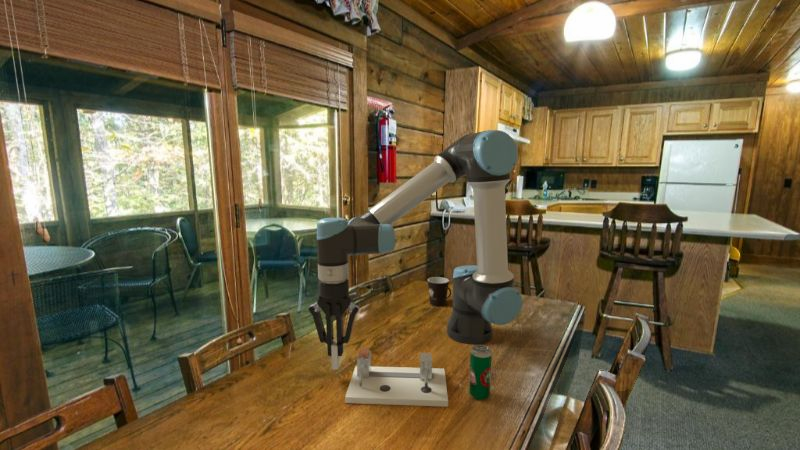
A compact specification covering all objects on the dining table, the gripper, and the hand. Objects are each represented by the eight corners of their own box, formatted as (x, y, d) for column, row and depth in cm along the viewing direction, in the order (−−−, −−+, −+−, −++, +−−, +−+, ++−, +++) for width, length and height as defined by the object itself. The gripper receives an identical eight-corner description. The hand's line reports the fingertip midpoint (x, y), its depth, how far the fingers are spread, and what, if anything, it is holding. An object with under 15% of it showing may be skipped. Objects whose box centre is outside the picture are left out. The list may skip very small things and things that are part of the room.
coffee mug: (425, 300, 155) (425, 277, 154) (445, 299, 156) (446, 276, 155) (430, 310, 144) (431, 286, 142) (452, 310, 145) (453, 285, 143)
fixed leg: (431, 371, 97) (431, 351, 97) (432, 390, 89) (432, 368, 88) (420, 370, 98) (420, 350, 97) (419, 389, 89) (420, 368, 88)
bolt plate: (444, 373, 100) (444, 367, 99) (448, 406, 86) (448, 399, 85) (355, 371, 101) (355, 365, 101) (345, 403, 87) (345, 396, 87)
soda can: (467, 388, 93) (468, 343, 91) (487, 389, 93) (489, 343, 91) (470, 401, 88) (472, 353, 86) (492, 401, 88) (494, 354, 86)
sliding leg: (370, 368, 98) (370, 348, 97) (366, 387, 90) (366, 364, 89) (359, 368, 98) (359, 347, 98) (354, 386, 90) (353, 364, 89)
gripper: (303, 283, 90) (307, 374, 93) (356, 284, 89) (358, 375, 93) (312, 274, 97) (315, 358, 101) (361, 275, 96) (363, 360, 100)
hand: (336, 366), depth 97 cm, fingers closed
